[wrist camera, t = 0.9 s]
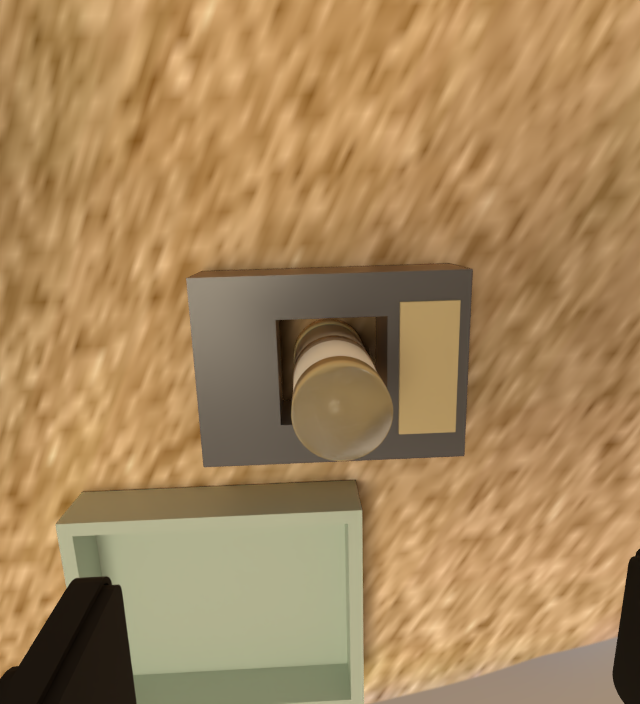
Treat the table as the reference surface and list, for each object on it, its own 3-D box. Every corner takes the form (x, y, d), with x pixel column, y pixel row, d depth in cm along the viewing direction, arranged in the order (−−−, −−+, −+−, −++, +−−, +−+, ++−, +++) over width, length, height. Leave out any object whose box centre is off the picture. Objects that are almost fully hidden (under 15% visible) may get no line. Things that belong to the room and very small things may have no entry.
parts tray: (355, 479, 32) (362, 510, 28) (357, 662, 35) (363, 709, 32) (82, 491, 31) (55, 524, 28) (110, 676, 35) (90, 724, 31)
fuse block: (449, 263, 29) (473, 269, 25) (443, 427, 31) (465, 457, 27) (201, 271, 28) (185, 278, 24) (215, 436, 31) (202, 468, 27)
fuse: (362, 317, 29) (393, 362, 20) (363, 384, 30) (392, 459, 21) (292, 320, 29) (288, 366, 20) (295, 387, 30) (293, 463, 20)
